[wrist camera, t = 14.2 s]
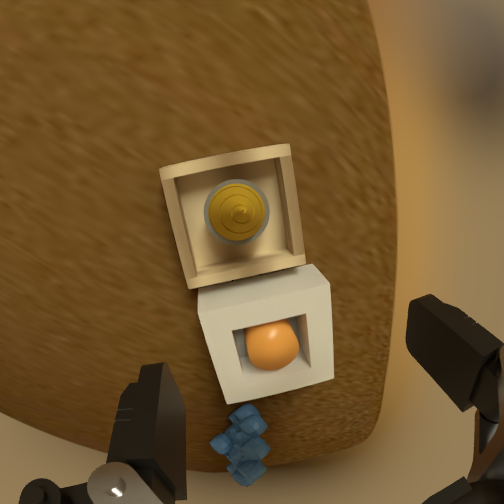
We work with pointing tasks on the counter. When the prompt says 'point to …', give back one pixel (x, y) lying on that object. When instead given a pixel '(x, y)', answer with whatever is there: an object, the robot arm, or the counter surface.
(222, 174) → the tray
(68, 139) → the counter surface
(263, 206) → the drill bit
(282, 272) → the frame
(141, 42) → the counter surface
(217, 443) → the grapes
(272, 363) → the button
